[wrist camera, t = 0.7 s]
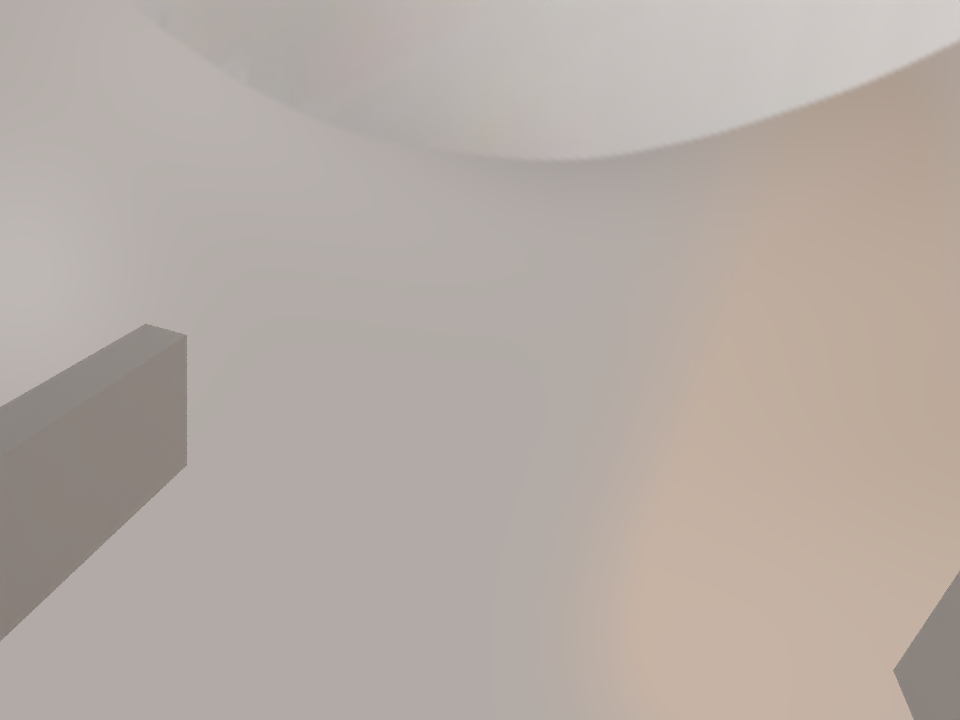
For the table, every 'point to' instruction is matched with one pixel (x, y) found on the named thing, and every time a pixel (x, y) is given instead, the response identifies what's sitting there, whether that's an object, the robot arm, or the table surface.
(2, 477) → the robot arm
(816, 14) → the table surface
